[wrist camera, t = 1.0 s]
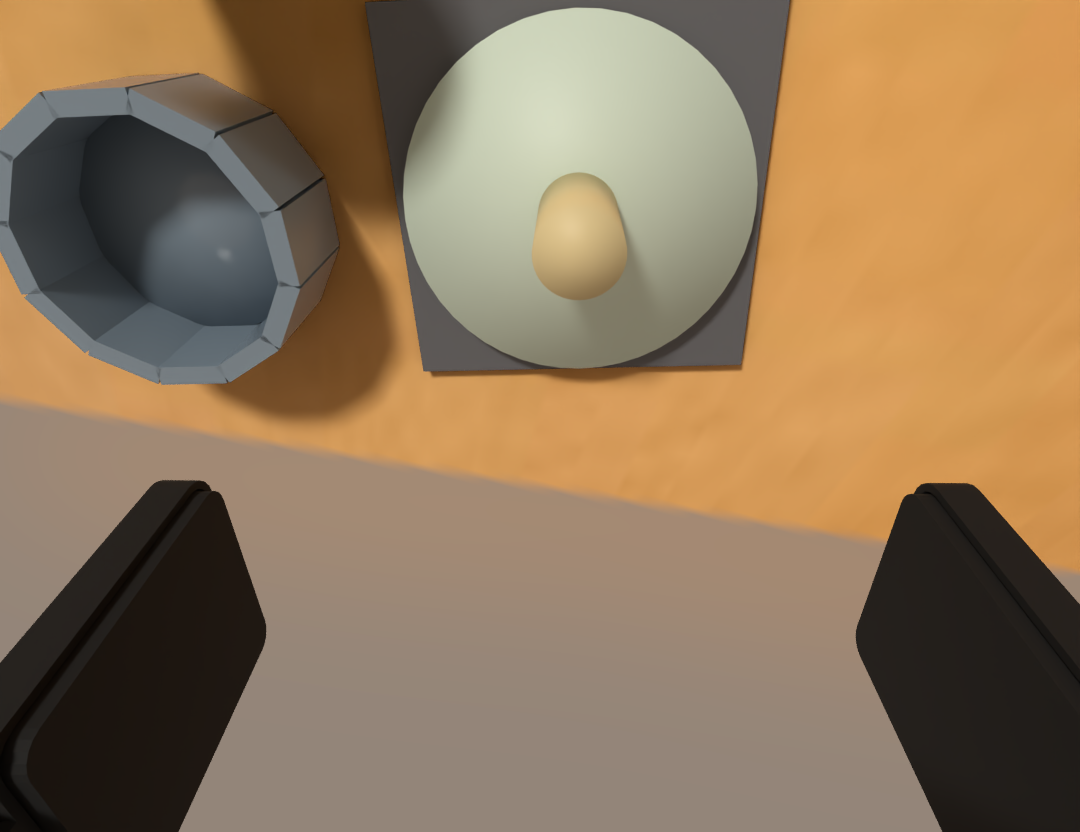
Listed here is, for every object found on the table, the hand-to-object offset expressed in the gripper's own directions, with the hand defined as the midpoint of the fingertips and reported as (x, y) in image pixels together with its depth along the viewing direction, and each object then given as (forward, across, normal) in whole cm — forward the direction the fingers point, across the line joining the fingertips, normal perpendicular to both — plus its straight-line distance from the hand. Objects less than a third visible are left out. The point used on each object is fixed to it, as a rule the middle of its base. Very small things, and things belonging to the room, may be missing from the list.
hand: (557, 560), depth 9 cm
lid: (+21, -1, 0) cm, 21 cm away
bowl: (+22, +15, +1) cm, 26 cm away
